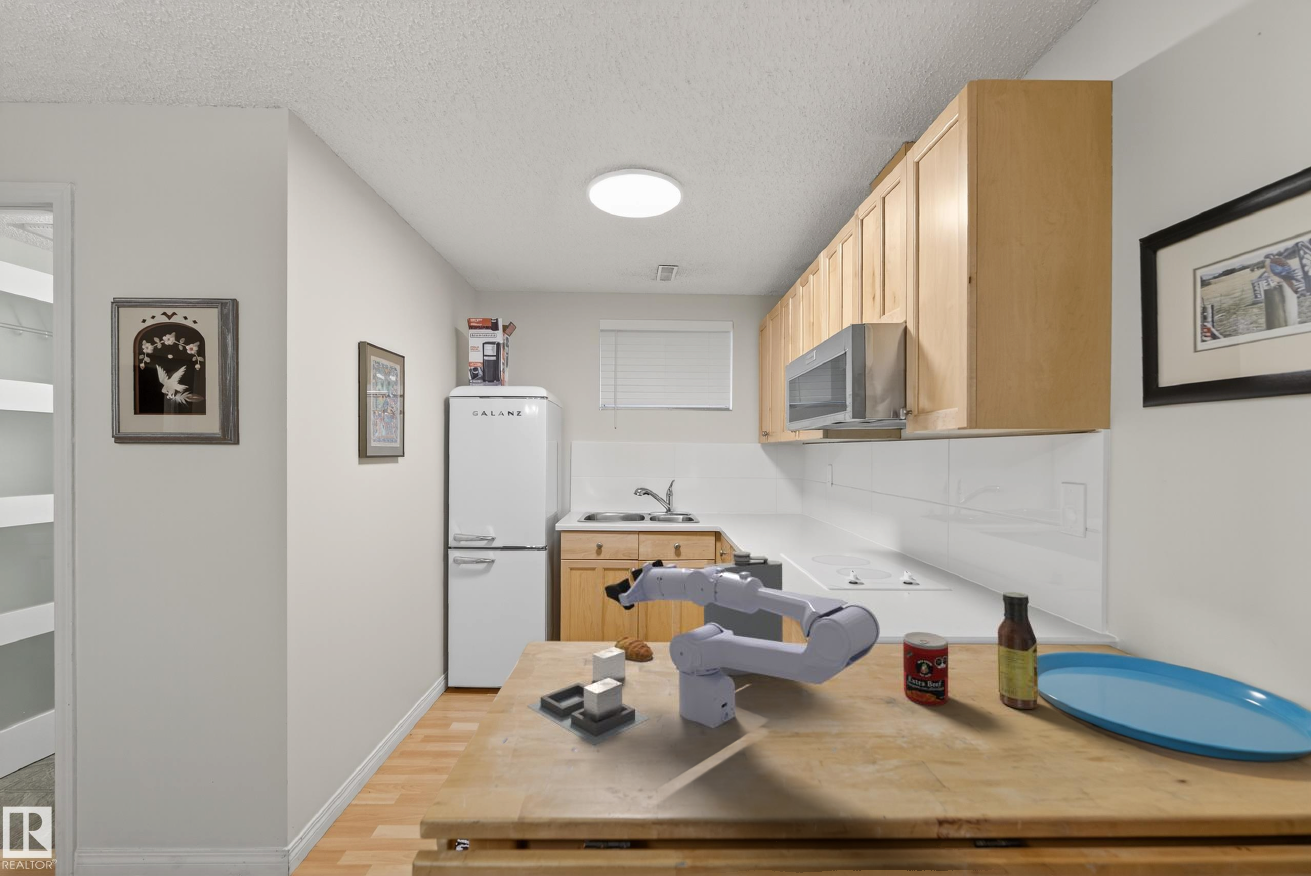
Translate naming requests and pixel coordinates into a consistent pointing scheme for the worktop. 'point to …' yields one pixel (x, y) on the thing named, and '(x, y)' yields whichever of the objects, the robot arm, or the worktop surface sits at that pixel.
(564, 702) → the pallet
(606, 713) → the block
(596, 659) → the metal billet
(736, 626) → the flask
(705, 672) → the robot arm
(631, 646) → the pastry
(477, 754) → the worktop surface
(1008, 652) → the sauce bottle
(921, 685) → the canned food
